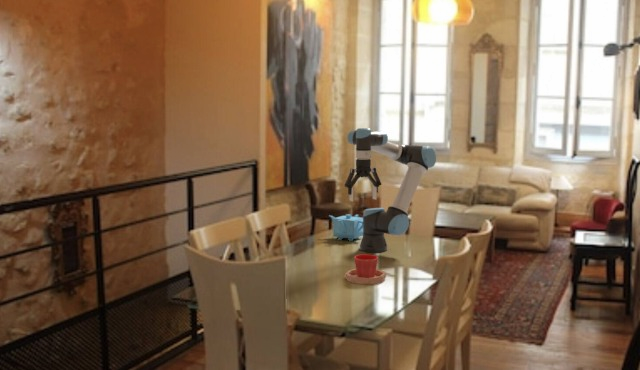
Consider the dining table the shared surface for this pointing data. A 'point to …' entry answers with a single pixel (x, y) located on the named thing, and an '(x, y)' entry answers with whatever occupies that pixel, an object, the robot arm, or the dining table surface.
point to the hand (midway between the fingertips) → (363, 200)
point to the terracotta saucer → (353, 278)
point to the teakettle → (347, 227)
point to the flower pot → (366, 265)
